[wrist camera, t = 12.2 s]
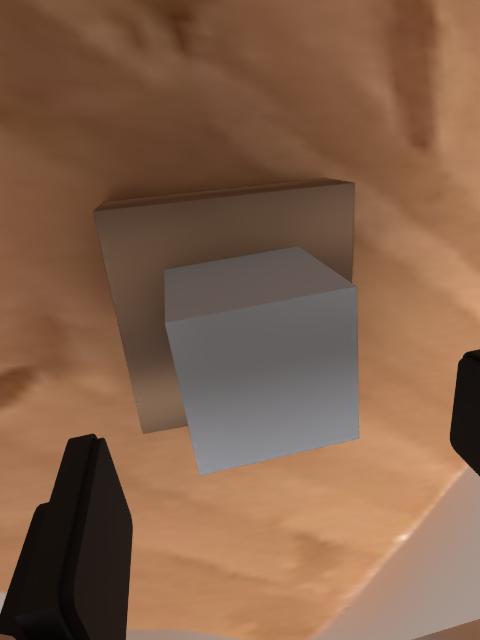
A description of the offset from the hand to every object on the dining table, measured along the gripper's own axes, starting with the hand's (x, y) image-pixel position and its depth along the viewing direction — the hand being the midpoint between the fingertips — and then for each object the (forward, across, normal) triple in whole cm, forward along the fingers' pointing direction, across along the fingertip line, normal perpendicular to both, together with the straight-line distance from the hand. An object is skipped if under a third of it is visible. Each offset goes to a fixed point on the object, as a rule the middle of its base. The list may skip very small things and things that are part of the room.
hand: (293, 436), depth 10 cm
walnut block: (+13, 0, +1) cm, 13 cm away
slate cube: (+9, 0, +1) cm, 9 cm away
